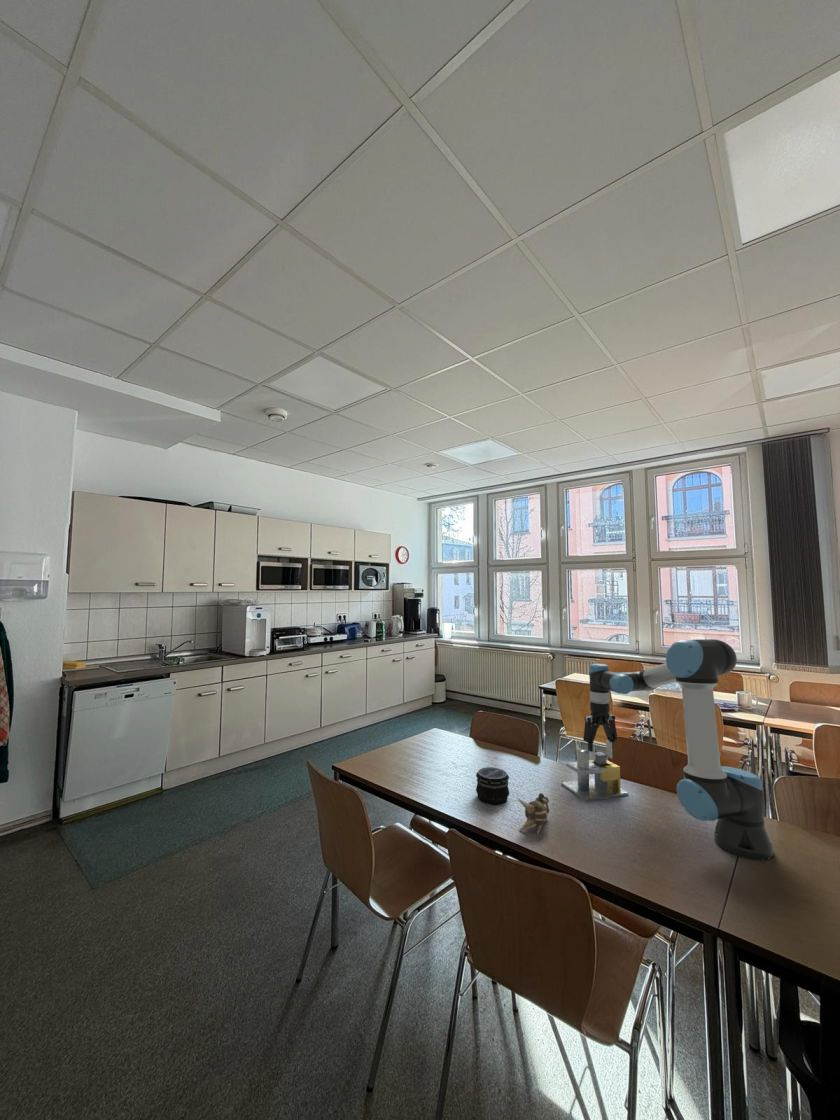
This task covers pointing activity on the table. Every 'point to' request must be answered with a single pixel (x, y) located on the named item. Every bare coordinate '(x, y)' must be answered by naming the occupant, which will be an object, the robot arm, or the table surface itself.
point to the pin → (601, 761)
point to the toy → (535, 812)
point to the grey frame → (587, 786)
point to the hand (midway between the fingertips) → (600, 758)
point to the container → (492, 786)
